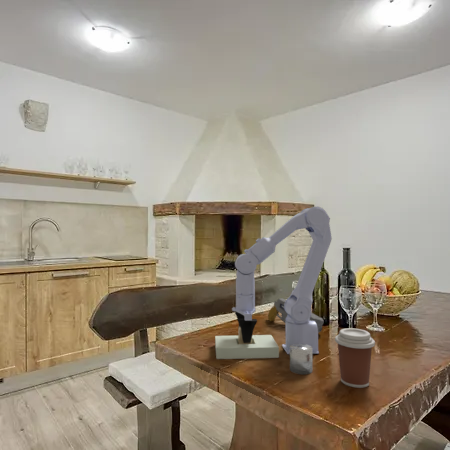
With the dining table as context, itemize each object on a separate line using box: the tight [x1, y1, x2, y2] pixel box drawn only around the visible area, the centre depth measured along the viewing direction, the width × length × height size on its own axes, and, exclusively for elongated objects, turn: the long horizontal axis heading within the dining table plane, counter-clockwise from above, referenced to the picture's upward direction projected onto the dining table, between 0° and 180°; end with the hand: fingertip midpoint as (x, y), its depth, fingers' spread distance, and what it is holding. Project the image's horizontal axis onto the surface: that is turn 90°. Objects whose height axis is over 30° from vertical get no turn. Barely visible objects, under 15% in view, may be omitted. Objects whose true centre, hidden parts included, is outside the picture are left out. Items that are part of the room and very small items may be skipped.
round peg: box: [289, 344, 313, 375], centre depth 93 cm, size 6×6×6 cm
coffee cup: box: [334, 327, 376, 389], centre depth 85 cm, size 9×9×12 cm
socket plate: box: [214, 334, 280, 360], centre depth 107 cm, size 18×12×3 cm, turn 93°
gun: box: [267, 297, 325, 334], centre depth 134 cm, size 3×25×15 cm, turn 36°
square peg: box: [237, 326, 252, 344], centre depth 107 cm, size 4×4×7 cm
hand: (245, 338), depth 107 cm, fingers open, 7 cm apart
